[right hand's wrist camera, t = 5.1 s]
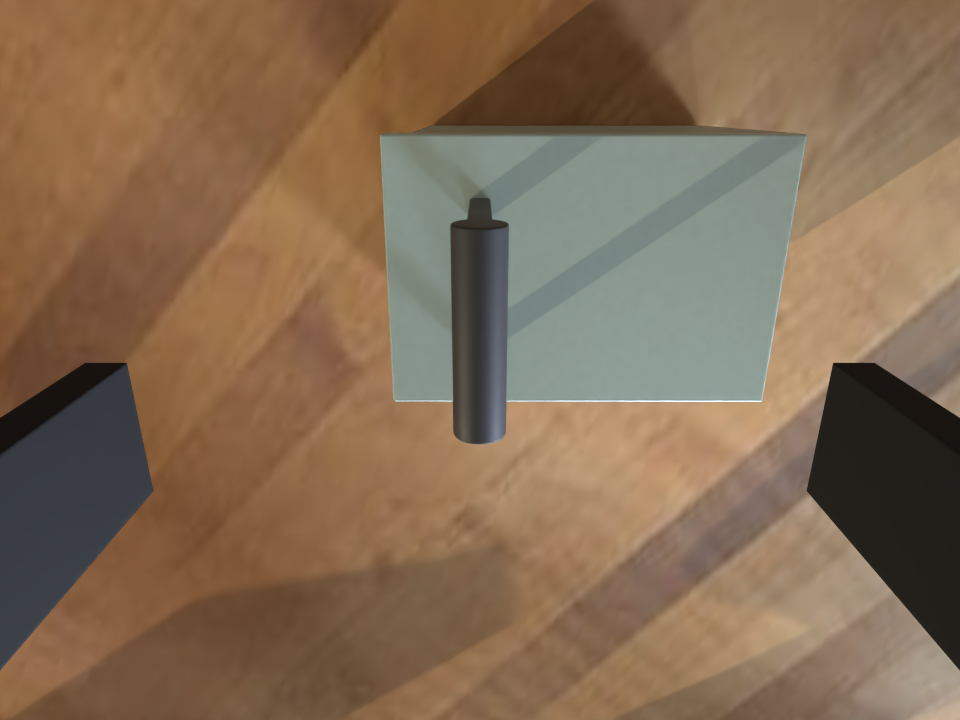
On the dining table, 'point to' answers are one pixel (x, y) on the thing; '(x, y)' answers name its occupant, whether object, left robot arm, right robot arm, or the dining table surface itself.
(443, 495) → the dining table surface
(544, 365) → the lid
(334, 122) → the dining table surface
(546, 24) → the dining table surface
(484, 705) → the dining table surface
